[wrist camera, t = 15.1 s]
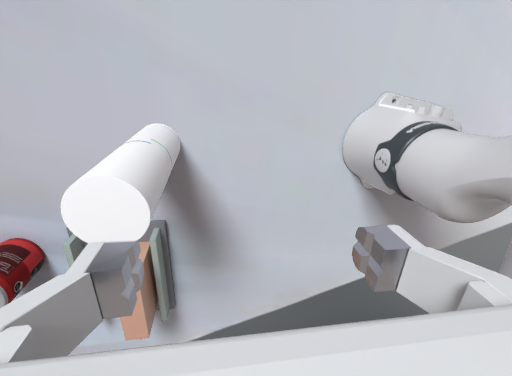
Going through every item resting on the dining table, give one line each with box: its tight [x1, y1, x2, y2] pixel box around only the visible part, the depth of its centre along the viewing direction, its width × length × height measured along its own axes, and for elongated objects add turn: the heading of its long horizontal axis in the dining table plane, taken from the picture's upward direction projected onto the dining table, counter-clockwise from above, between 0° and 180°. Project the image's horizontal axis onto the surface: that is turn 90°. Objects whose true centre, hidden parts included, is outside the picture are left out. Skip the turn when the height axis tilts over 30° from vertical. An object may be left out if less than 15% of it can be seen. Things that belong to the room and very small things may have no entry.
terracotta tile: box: [120, 242, 158, 340], centre depth 49 cm, size 4×14×10 cm, turn 178°
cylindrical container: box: [61, 124, 180, 243], centre depth 34 cm, size 7×7×25 cm
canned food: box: [0, 238, 44, 308], centre depth 45 cm, size 8×8×11 cm
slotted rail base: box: [63, 220, 175, 321], centre depth 52 cm, size 17×22×5 cm
